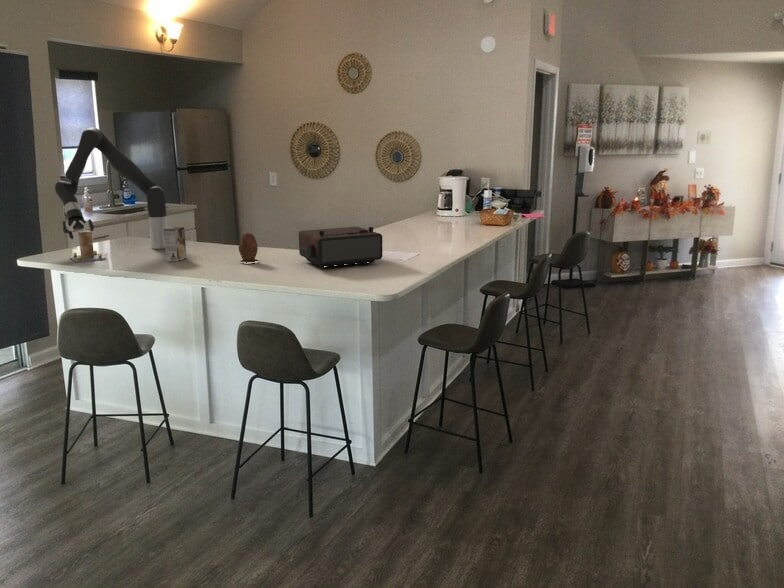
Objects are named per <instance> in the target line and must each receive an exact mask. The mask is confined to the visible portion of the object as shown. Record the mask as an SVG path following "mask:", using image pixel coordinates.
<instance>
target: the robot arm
mask: <svg viewBox="0 0 784 588" xmlns="http://www.w3.org/2000/svg"><path fill="white" fill-rule="evenodd" d="M95 148H96V149H97V150H98V151H99V152H100V153H102V155H104V156H105V158H106V159H107V161H108V163H109V164H110V165H111V167H112V168H113V169H114V170H115V171H116V172H117V173H118V174H119V175H121V176H122V177H123V178H124V179H125V180H127V181H128V182H130V183H131V184H132V185H135V187H137V188H138V189H139V190H140V191H141V192H142V193H143V194H144V195H145V197H146V204H147V213H148V222H149V233H150V234H149V236H150V247H151V249H154V250H155V249H156V250H159V249H160V250H162V249H165V238H164V229H167V228H169V227H168V218H167V208H166V207H167V206H166V205H167V204H166V193H165V190H164V189H163V188H162V187H160V186H159V185H157V184H156V183H155V182H153V180H151V179H150V178H149V177H147V175H146V174H145V173H144V172H143V171H142V169H141V168H139V167H138V165H137V164H136V163H134V162H133V160H132V159H130V158H129V157H128V156H127V155H126V154H125V153H124V152H122V151H121V150H120V149H119V148H118V147H116V146H115V145H114V144H113V143H112V142H111V141H110V140H109V139H108V137H107V136H106V135H105V134H104V133H103V132H102V131H101V130H100V129H99V128H97V127H93V126H92V127H88V128H87V129H84V130H83V132H81V136H80V139H79V143H78V146H77V150H76V151H75V154H74V156H73V158H72V160H71V161H70V163H69V166H68V168H67V169H66V171H65V173H64V175H65V178H66V179H68V180H69V181H70V182H69V181H65V180H58V181H56V183H55V185H54V191H55V193H56V195H57V196H58V198H59V199H60V201H62V205H63V207H64V213H65V216H66V219H67V221H65V220H64V221H63V220H62V223H61V224H62V225H61V226H62V231H63V233H64V234H68V237H69V239H71V240H74V235H73V231H74V230H82V231H87V230H89V231H91V232H94V228H95V225H94V224H93V221H92V219H88V220H85V218H84V215H83V213H82V209H81V206H80V204H79V200H78V199H77V197H76V194H77V192H78V188H79V183H80V178H81V177H82V175H83V172H84V171H85V168H86V166H87V165H86V164H87V162H88V158H89V156H90V155H91V153H92V152H93V150H94V149H95ZM68 226H69V228H68V229H67V227H68Z"/></svg>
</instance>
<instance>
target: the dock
mask: <svg viewBox="0 0 784 588" xmlns="http://www.w3.org/2000/svg"><path fill="white" fill-rule="evenodd" d="M93 251H94V257H92V258H82V257H81V254H80V255H77V254H78V253H77V252H73V253H72V254H73V255H71V256H69V259H70V260H71V259H72V260H71V261H73V262H74V261H75V262H74V263H76V264H78V262H80V263H87V261H89V262H96V260H98V261H105V260H104V259H106V260H107V257H106V256H104V255H103V254H102V253H101V252H100V253H98V252H97V250H93Z"/></svg>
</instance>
